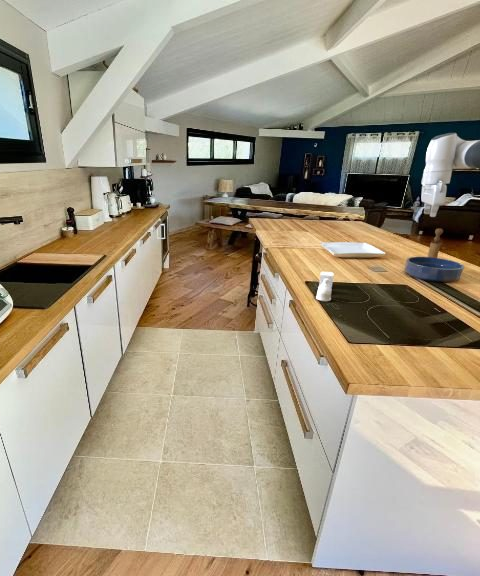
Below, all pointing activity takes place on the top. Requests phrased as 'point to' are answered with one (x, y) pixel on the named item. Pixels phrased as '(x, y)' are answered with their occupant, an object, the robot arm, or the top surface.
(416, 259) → the bowl
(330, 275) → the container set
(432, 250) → the mortar and pestle
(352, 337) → the top surface
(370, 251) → the square plate
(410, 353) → the top surface
